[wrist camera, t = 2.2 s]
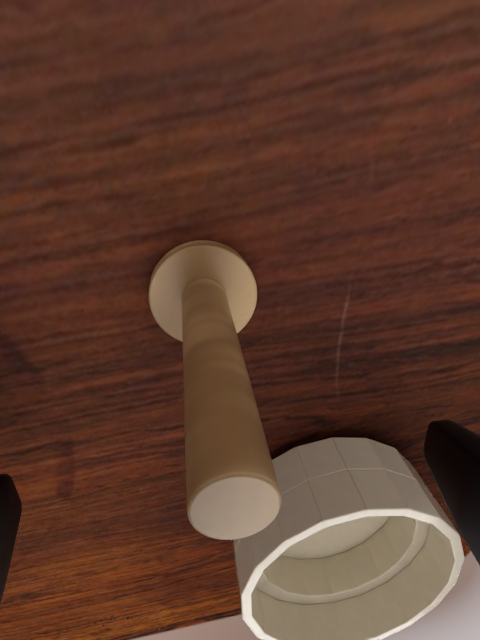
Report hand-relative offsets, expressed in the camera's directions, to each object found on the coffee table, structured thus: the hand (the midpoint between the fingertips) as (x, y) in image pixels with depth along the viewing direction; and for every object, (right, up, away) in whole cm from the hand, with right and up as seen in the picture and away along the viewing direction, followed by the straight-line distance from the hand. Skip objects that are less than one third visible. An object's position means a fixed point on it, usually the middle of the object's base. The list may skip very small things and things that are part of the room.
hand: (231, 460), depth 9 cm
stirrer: (-1, +4, +8) cm, 10 cm away
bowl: (+5, -8, +15) cm, 18 cm away
